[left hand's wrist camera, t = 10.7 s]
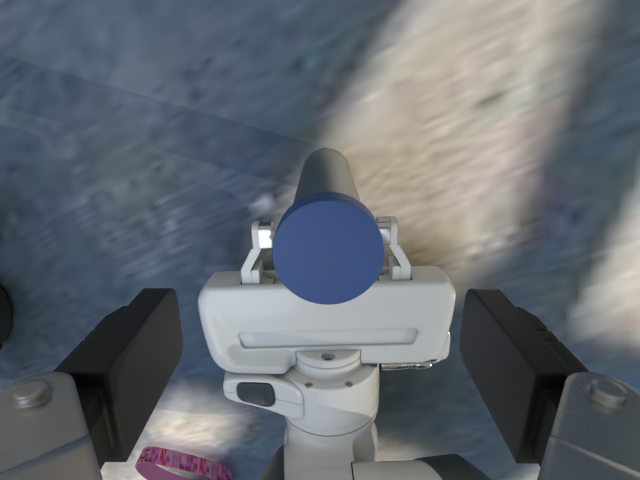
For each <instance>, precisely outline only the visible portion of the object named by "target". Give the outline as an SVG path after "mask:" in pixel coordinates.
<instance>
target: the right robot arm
mask: <svg viewBox="0 0 640 480" xmlns="http://www.w3.org/2000/svg"><path fill="white" fill-rule="evenodd" d="M375 220H376V222H377V225H378V227H379V230H380V232H381V235H382V238H383V242H384V245H389V247H390V249H391V250H392V252H393V254H394V255H395V256H390V257H389V264H388V267H382V269H381V272H380V274H379V276H378V278H377V279H376V281H375V282H374V283H373V285H372V286H371V287H370V288H369V289H368V290H367V291H365V292H364V293H363V294H361V295H360V296H358V297H357V298H355V299H352V300H350V301H347V302H344V303H340V304H332V305H323V304H316V303H312V302H309V301H306V300H304V299H302V298H300V297H298V296H296V295H295V294H293V293H292V292H291V291H290V290H289V289H288V288H286V286H285V285H284V284H283V283H282V282H281V280H280V279H279V277H278V275H277V273H276V271H275V270H263V262H262V260H256V259H257V257H258V255H259V253H260V251H261V249H262V248H272V246H273V241H274V231H273V227H274V225H273V220H266V221H260V220H258V221H254V222H253V224H252V231H251V232H252V242H253V246H252V248H251V250H250V252H249V254H248V256H247V258H246V260H245V262H244V264H243V266H242V269H241V271H219V272H215V273H213V274H212V276H211V277H210V278H209V279H208V280H207V282H206V283H205V284H204V286H203V288H202V289H201V291H200V294H199V298H198V307H199V313H200V318H201V323H202V327H203V331H204V335H205V339H206V342H207V345H208V348H209V351H210V353H211V356H212V357H213V359H214V361H215V362H216V363H217V364H218V365H219V366H220V367H221V368H223V369H224V370H226V371H225V376H224V383H223V389H224V394H225V396H226V397H227V398H228V399H230V400H233V401H236V402H240V403H245V404H249V405H253V406H257V407H261V408H264V409H267V410H271V411H274V412H277V413H279V414H282V415H284V416H285V419H286V422H287V425H286V429H285V434H284V445H282V446H281V447H280V448H279V449H278V451H277V452H276V453H275V455H274V456H273V458H272V459H271V461H270V462H269V464H268V466H267V467H266V469H265V471H264V473H263V476H262V479H261V480H490V479H489V478H488V477H487V476H486V475H485V474H484V473H483V472H481V471H480V470H479V469H478V468H476V467H475V466H474V465H473V464H471V463H470V462H468V461H467V460H465V459H464V458H462V457H461V456H460V455H458V454H448V455H440V456H432V457H424V458H416V459H414V460H410V461H377V450H378V435H377V429H376V426H375V423H374V420H375V417H376V415H377V411H378V404H379V372H380V371H387V370H401V369H402V370H403V369H407V368H408V369H410V368H411V369H417V370H424V369H429V368H431V367H432V365H433V364H436V363H439V362H441V361H442V360H443V359H445V358H447V356H448V354H449V348H450V337H451V336H450V331H449V328H450V325H451V320H452V316H453V311H454V306H455V299H456V291H455V287H454V285H453V283H452V282H451V280H450V279H449V277H448V276H447V275H446V274H445V273H444V272H443V271H442V270H441V269H440V268H439V267H438V266H411V265H410V263H409V261H408V259H407V257H406V255H405V253H404V251H403V250H402V248H401V246H400V245H399V243H398V241H397V232H398V225H397V220H396V218H395V216H393V217H376V218H375ZM431 359H433V360H431Z"/></svg>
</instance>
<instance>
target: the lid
mask: <svg viewBox="0 0 640 480" xmlns="http://www.w3.org/2000/svg"><path fill="white" fill-rule="evenodd" d="M384 256H385V249H384V242H383V238H382V235H381V232H380V230H379V227H378V225H377V222H376V220H375V218H374V216H373V215H372V214H371V212H370V211H369V210H368V209H367V207H366V206H365V205H363V204H362V203H361V202H360V201H358V200H356V199H355V198H353V197H351V196H349V195H346V194H342V193H338V192H318V193H314V194H310V195H308V196H305V197H303V198H301V199H300V200H298V201H297V202H295V203H294V204H293V205H292V206H291V207H290V208H289V209H288V210H287V211H286V212H285V214H284V215H283V217H282V218H281V220H280V223H279V225H278V228H277V231H276V234H275V237H274V241H273V246H272V259H273V265H274V268H275V271H276V273H277V275H278V277H279V279H280V280H281V282H282V283H283V284H284V285H285V286H286V288H288V289H289V290H290V291H291V292H292V293H293V294H295V295H296V296H298V297H300V298H302V299H304V300H306V301H309V302H312V303H316V304H323V305H332V304H340V303H344V302H347V301H350V300H352V299H355V298H357V297H358V296H360V295H361V294H363V293H364V292H365V291H367V290H368V289H369V288H370V287H371V286H372V285H373V283H374V282H375V281H376V279H377V278H378V276H379V274H380V272H381V269H382V267H383V263H384Z"/></svg>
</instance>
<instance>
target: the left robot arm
mask: <svg viewBox="0 0 640 480" xmlns="http://www.w3.org/2000/svg"><path fill="white" fill-rule="evenodd" d="M182 346H183V338H182V330H181V323H180V315H179V308H178V301H177V295H176V292H175V290H174V289H172V288H145V289H143V290H142V291H141V292H140V293H139V294H138V295H137V296H136V298H135V299H134V300H133V301H132V302H131V303H130V304H129V305H128V306H123V307H121V308H119V309H118V310H116V311H114V312H112V313H111V314H109V315H107V316H106V317H105V318H104V319H103V320H102V321H101V322H100V323H99V324H98V325H97V326H96V327H95V330H94V331H91V332H90V333H89V334H88V335H87V337H86V338H85V341H82V342H81V343H80V344H79V345H78V346H77V347H76V348H75V349H74V350H73V351H72V352H71V353H70V354H69V355H68V356H67V357H66V359H65V360H64V361H63V362H62V363H61V364H60V365H59V366H58V367H57V368H56V369H55V370H54V371H53V372H47V373H41V374H37V375H33V376H30V377H27V378H25V379H22V380H20V381H18V382H16V383H14V384H12V385H10V386H9V387H7V388H5V389H4V390H3V391H1V392H0V480H103V479H102V475H101V472H100V470H101V468H102V466H103V465H104V463H105V462H126V461H127V460H128V458H129V456H130V454H131V452H132V450H133V448H134V446H135V444H136V442H137V440H138V439H139V437H140V435H141V433H142V431H143V429H144V427H145V425H146V423H147V421H148V419H149V418H150V416H151V414H152V412H153V410H154V408H155V406H156V404H157V402H158V400H159V398H160V397H161V395H162V393H163V391H164V389H165V387H166V385H167V383H168V381H169V379H170V377H171V376H172V374H173V372H174V370H175V368H176V366H177V364H178V362H179V360H180V357H181V353H182ZM459 346H460V353H461V358H462V361H463V363H464V365H465V366H466V368H467V370H468V372H469V374H470V376H471V378H472V380H473V382H474V383H475V385H476V387H477V389H478V391H479V393H480V395H481V397H482V399H483V400H484V402H485V404H486V406H487V408H488V410H489V412H490V414H491V415H492V417H493V419H494V421H495V423H496V425H497V427H498V429H499V431H500V432H501V434H502V436H503V438H504V440H505V442H506V444H507V446H508V448H509V449H510V451H511V453H512V455H513V457H514V459H515V461H516V463H538V464H539V465H540V467H541V468H540V472H539V475H538V479H537V480H640V392H639V391H637V390H636V389H635V388H633V387H631V386H630V385H628V384H626V383H624V382H622V381H620V380H618V379H615V378H613V377H610V376H607V375H603V374H599V373H593V372H589V371H588V370H587V369H586V368H585V367H584V365H583V364H582V363H581V362H580V361H579V360H578V359H577V358H576V357H575V356H574V355H573V354H572V353H571V352H570V351H569V350H568V349H567V348H566V347H565V346H564V345H563V344H562V343H561V342H558V338H557V337H556V336H555V335H554V334H553V333H552V332H551V331H548V328H547V327H546V326H545V325H544V324H543V323H542V322H541V321H540V320H539V319H538V318H537V317H536V316H534V315H532V314H531V313H529V312H527V311H526V310H524V309H522V308H520V307H515V306H514V305H513V304H512V303H511V302H510V301H509V300H508V299H507V298H506V297H505V295H504V294H503V293H502V292H501V291H500V290H498V289H469V290H468V291H467V293H466V297H465V303H464V310H463V317H462V324H461V332H460V340H459Z"/></svg>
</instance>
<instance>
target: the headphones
mask: <svg viewBox="0 0 640 480" xmlns="http://www.w3.org/2000/svg"><path fill="white" fill-rule="evenodd" d="M10 328H11V307H10V304H9V301H8V298H7V297H6V295H5V293H4V292H3V291H2V289H1V288H0V350H1V348H2V347H3V345H2V344H1V343H2V342H3V341H4V340H5V339H6V338H7V336H8V334H9V331H10Z"/></svg>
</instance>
